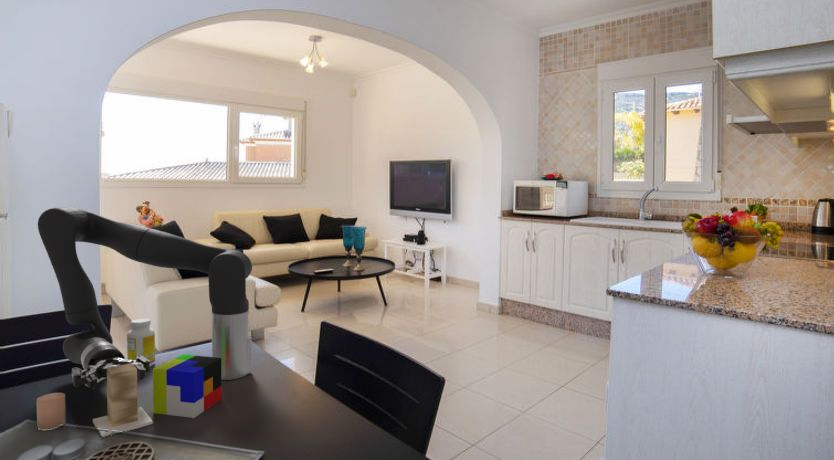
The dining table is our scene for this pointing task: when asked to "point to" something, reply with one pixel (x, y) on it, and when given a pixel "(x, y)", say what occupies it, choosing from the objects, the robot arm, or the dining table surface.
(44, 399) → the peach short upright block
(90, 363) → the robot arm
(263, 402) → the dining table surface
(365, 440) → the dining table surface
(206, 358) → the puzzle toy
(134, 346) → the supplement bottle
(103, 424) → the coaster
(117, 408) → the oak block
